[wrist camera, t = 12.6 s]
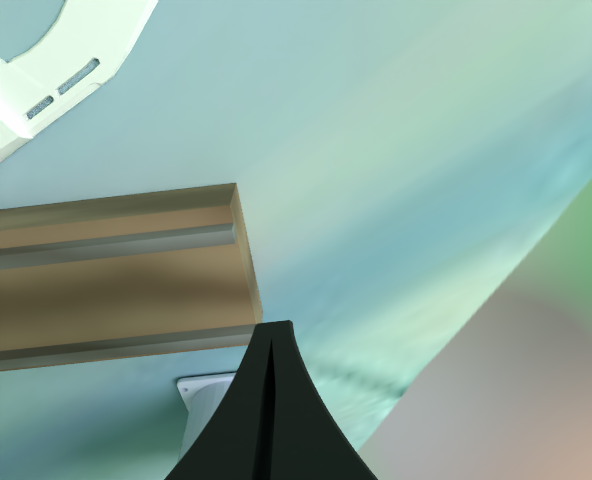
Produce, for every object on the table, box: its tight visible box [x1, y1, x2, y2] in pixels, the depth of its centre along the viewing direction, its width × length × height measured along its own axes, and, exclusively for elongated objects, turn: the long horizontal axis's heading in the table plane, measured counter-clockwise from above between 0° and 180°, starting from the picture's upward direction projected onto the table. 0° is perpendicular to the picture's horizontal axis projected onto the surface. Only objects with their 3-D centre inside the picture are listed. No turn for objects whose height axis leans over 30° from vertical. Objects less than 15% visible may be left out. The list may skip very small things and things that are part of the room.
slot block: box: [0, 183, 263, 371], centre depth 21 cm, size 10×22×4 cm, turn 96°
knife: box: [0, 0, 158, 162], centre depth 15 cm, size 30×2×8 cm
